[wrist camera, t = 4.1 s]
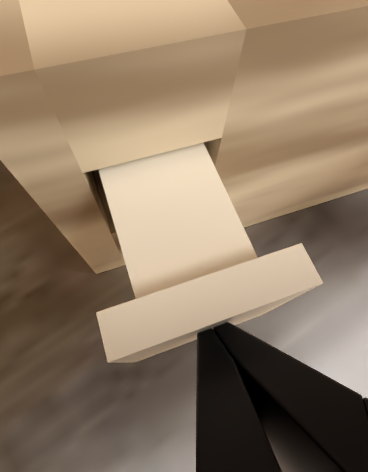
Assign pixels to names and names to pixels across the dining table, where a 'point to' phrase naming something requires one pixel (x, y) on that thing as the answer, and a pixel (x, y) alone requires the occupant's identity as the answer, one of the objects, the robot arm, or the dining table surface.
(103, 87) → the socket block
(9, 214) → the dining table surface
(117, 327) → the cream plug
